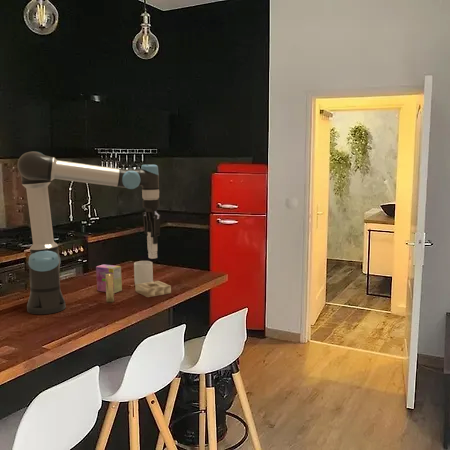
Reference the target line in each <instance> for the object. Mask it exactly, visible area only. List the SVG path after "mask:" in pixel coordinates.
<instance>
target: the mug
mask: <svg viewBox="0 0 450 450" xmlns="http://www.w3.org/2000/svg"><path fill="white" fill-rule="evenodd" d="M153 268H154V267H153V261H150V260H139V261H135V262H134V263H133V271H134V272H133V275H134V279H133V280H134V285H135V284H141V283H147V282H153V281H154V272H153Z"/></svg>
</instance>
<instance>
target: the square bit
mask: <svg viewBox="0 0 450 450" xmlns="http://www.w3.org/2000/svg"><path fill="white" fill-rule="evenodd" d="M151 236H152V231H151V232H148V246H147V252H148V253H147V255H148V259H151V260H153V259H158V251H151Z"/></svg>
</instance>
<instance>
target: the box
mask: <svg viewBox="0 0 450 450" xmlns="http://www.w3.org/2000/svg"><path fill="white" fill-rule="evenodd" d="M95 274H96V275H95V276H96V288H97V292H101V293H102V292H104V293H106V274H113V284H114V294H116V293H119V292H122V291H123V285H122V284H123V283H122V282H123V281H122V266H121V265H113V264H101V265H97V266H95Z"/></svg>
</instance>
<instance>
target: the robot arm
mask: <svg viewBox="0 0 450 450" xmlns="http://www.w3.org/2000/svg"><path fill="white" fill-rule="evenodd" d="M17 170H18V172H19V174H20V179H21V180H20V181H21V186H23V187H24V188H25V189H26V190H25V191H26V195H27V205H28V206H27V207H28V212H29V213H28V214H29V220H30V231H31V239H32V244H31V246H30V247H29V252H30V255H29V256H28V264H27V265H28V268H29V269H28V270H29V272H28V273H29V287H30V293H29V297H28V300H27V303H26V312H27V313H28V314H32V315H49V314H56V313H59V312H61V311H64V310H65V309H66V308H67V307H66V301H65V298H64V295H63V292H62V291H61V277H60V269H61V263H62V262H61V260H62V259H61V257H60V251H59V250H60V249H59V245H58V244H57V242H55V241H54V230H53V225H52V224H53V222H52V215H51V214H52V212H51V206H50V205H51V204H50V196H49V188H48V187H49V185H50V184H51V183H52V182H51V181H53V180H55V179H56V180H63V181H71V182H77V183H87V184H94V185H101V186H108V187H109V186H110V187H117V188H125V189H127V190H134V189H137V188H138V187H141V188H142V189H141V192H142V193H141V194H142V195H141V196H142V198H141V199H143V200H142V208H143V209H145V211H144V212H142V213H141V214H142V219H143V231H144V234H145V235H146V240H147V241H146V243H147V247H148V232H151V231H152V236H151V251H157V252H158V237H159V236H161V217H162V215H161V214H159V213H158V208H160V206H161V205H160V199H159V198H160V182H159V181H160V174H159V166H158V165H157V164H142V165H141V167H140V168H139V169H123V168H118V167H117V168H116V167H108V166H107V167H106V166H102V165H94V164H87V163H80V162H73V161H65V160H59V159H56V157H54V156H49V155H45V154H43V153H42V152H40V151H28V152H24V153H23V154H22V155H21V156H19V158H18V160H17Z"/></svg>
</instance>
